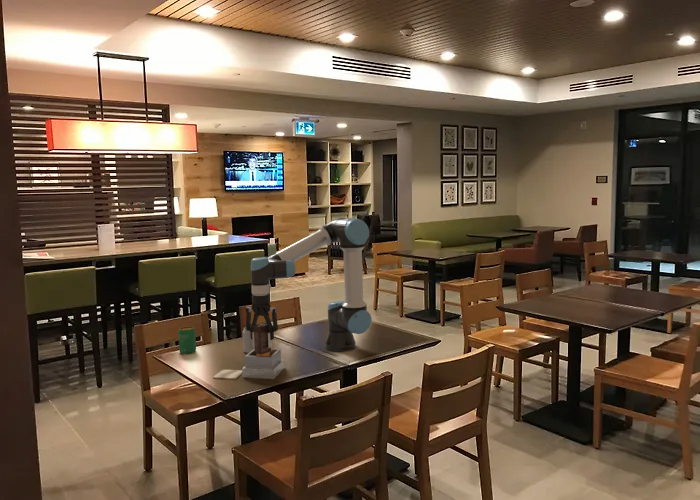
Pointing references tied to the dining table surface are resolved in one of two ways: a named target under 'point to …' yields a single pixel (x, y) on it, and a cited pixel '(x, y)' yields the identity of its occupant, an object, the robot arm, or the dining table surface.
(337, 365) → the dining table surface
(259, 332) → the box
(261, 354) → the plunger
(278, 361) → the box
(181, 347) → the beverage can
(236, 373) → the coaster
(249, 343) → the can
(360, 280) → the robot arm
